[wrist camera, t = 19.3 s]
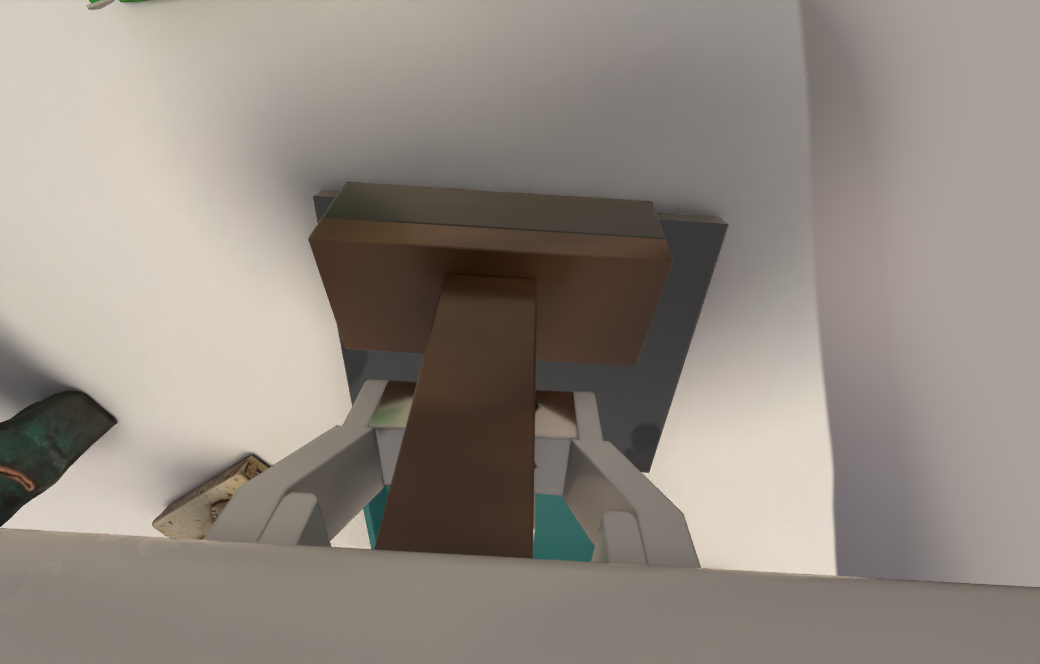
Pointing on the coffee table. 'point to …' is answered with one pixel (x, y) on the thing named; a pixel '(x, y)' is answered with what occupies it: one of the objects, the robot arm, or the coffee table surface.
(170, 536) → the statue
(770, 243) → the coffee table surface
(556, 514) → the dustpan
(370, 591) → the robot arm
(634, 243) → the brush
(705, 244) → the slate board
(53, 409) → the ceramic cat
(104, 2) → the toy car
